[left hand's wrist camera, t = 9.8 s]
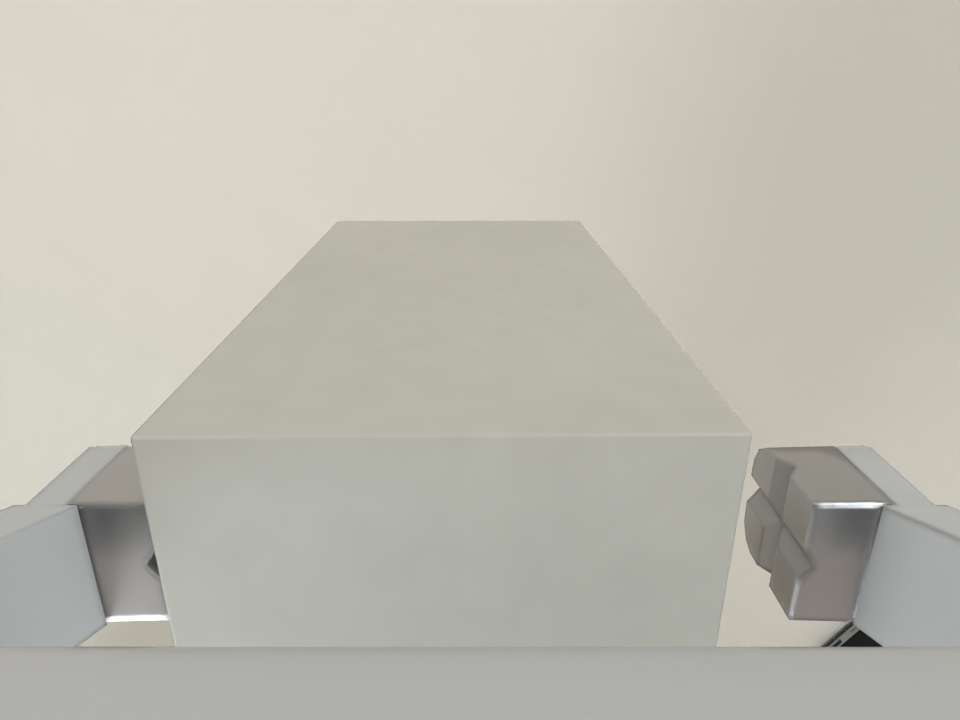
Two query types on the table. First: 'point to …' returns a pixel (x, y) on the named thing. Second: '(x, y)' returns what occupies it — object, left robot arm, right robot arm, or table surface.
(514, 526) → the box
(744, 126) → the table surface
